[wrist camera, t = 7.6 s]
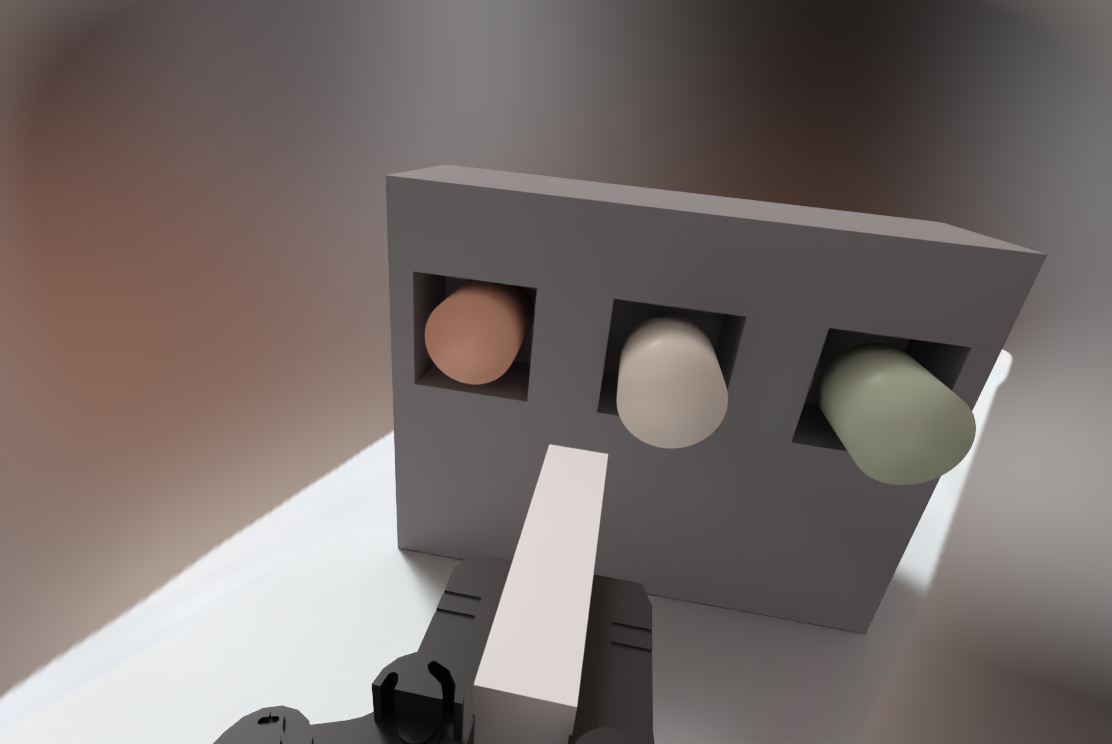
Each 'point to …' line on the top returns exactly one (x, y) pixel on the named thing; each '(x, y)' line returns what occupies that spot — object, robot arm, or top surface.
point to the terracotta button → (479, 330)
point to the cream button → (670, 383)
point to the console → (744, 358)
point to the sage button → (894, 414)
